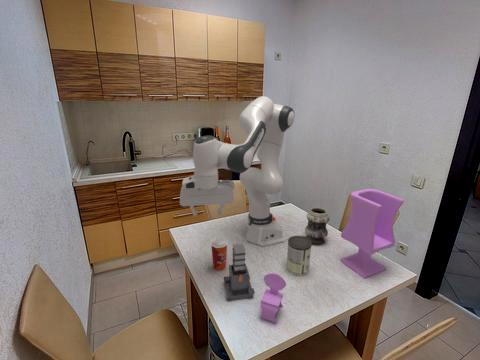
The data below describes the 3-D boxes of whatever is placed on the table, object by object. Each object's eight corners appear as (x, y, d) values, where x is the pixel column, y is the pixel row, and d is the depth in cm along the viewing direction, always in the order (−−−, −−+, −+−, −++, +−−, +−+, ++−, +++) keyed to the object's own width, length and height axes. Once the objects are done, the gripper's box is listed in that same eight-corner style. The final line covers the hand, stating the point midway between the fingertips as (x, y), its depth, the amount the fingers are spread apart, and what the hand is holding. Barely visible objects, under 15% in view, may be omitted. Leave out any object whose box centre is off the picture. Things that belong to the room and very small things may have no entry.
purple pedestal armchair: (364, 280, 110) (379, 206, 99) (337, 260, 123) (347, 192, 112) (388, 270, 116) (405, 199, 105) (360, 252, 129) (372, 187, 118)
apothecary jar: (322, 234, 146) (326, 205, 140) (329, 246, 134) (334, 215, 129) (301, 234, 145) (304, 205, 140) (307, 246, 134) (310, 215, 128)
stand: (248, 279, 110) (249, 258, 106) (254, 298, 100) (255, 276, 96) (223, 282, 108) (223, 261, 104) (227, 301, 98) (226, 279, 94)
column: (242, 281, 105) (243, 243, 100) (244, 288, 101) (245, 249, 96) (232, 282, 105) (232, 244, 99) (234, 289, 101) (234, 250, 95)
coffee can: (287, 259, 123) (289, 233, 119) (309, 264, 120) (312, 237, 116) (284, 272, 114) (286, 245, 110) (307, 278, 111) (310, 250, 106)
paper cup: (221, 274, 113) (221, 247, 108) (207, 268, 116) (206, 241, 112) (231, 265, 119) (231, 238, 114) (218, 259, 123) (217, 234, 118)
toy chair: (256, 317, 91) (258, 283, 86) (264, 300, 99) (266, 267, 94) (279, 325, 88) (282, 290, 83) (285, 307, 96) (288, 274, 91)
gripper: (232, 176, 99) (232, 209, 103) (179, 179, 96) (181, 212, 100) (235, 182, 93) (235, 216, 98) (178, 184, 90) (180, 220, 94)
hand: (207, 214), depth 99 cm, fingers open, 8 cm apart
